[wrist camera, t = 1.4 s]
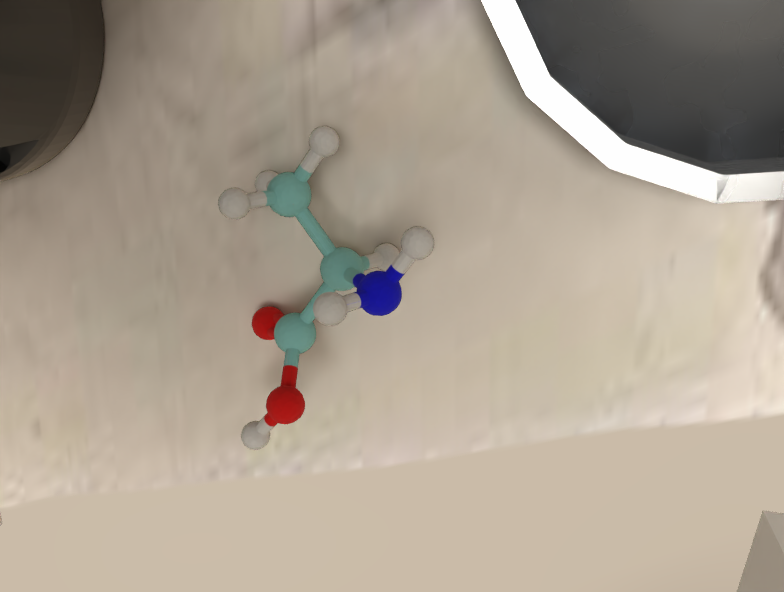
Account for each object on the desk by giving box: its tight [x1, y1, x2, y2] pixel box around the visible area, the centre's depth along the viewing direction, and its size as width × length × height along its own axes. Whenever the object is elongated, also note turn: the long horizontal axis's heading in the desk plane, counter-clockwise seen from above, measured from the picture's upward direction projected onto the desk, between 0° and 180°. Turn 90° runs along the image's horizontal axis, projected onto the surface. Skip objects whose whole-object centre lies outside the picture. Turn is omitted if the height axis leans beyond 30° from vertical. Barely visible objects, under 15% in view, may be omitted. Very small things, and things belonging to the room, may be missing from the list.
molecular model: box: [218, 126, 434, 450], centre depth 31 cm, size 12×10×10 cm
